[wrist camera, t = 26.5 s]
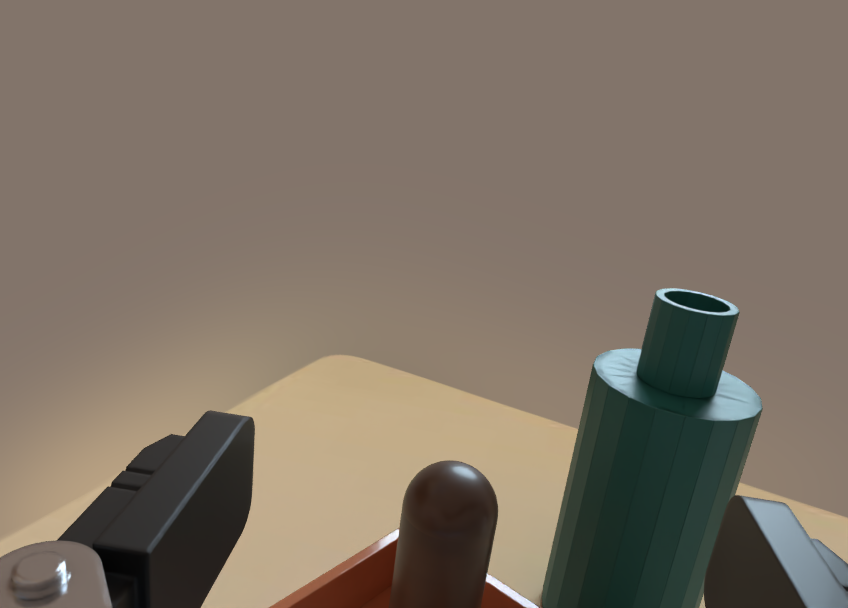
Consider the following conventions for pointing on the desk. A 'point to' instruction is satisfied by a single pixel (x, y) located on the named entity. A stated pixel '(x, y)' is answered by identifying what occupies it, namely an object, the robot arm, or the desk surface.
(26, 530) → the desk surface
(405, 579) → the stopper
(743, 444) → the flask
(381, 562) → the dish
